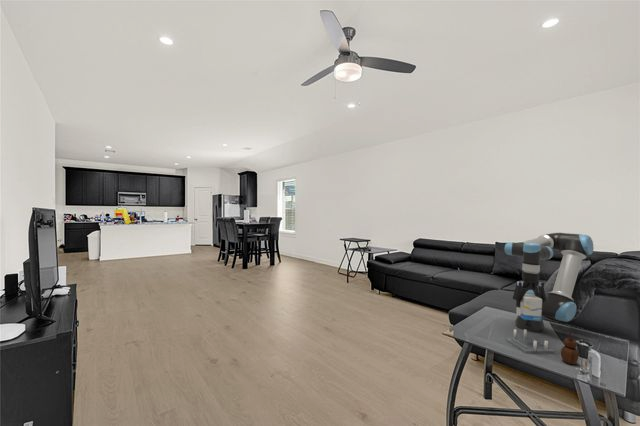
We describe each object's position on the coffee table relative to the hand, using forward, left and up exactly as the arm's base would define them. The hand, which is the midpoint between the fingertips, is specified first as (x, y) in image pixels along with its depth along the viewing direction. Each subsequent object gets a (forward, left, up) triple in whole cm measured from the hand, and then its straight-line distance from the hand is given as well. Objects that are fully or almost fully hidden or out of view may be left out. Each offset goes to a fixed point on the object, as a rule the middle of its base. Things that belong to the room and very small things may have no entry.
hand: (528, 313), depth 152 cm
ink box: (0, 0, -2) cm, 2 cm away
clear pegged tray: (-1, +1, -17) cm, 18 cm away
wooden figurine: (-8, +16, -18) cm, 25 cm away
